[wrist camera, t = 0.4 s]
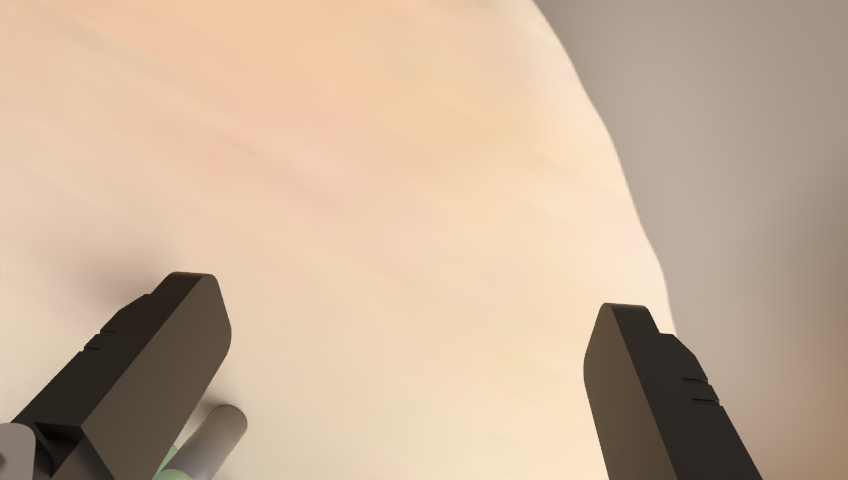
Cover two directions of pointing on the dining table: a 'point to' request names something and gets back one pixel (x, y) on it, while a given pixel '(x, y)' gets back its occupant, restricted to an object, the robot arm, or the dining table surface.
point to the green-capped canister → (207, 446)
